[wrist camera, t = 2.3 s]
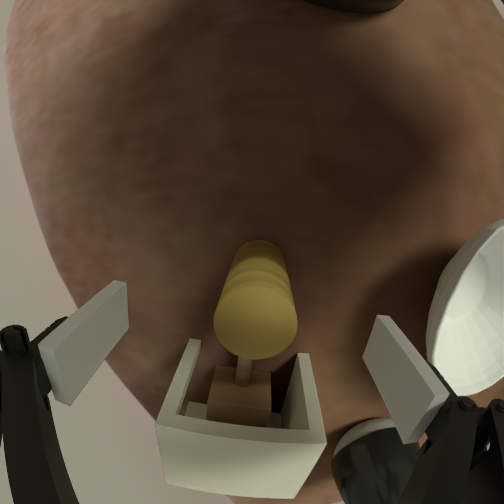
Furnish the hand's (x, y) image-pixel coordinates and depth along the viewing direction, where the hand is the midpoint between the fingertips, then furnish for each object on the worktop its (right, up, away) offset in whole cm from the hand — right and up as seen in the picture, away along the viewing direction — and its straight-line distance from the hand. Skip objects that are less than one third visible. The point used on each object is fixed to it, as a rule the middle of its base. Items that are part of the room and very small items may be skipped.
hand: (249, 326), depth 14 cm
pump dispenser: (+14, -18, +14) cm, 27 cm away
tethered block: (0, -4, +10) cm, 10 cm away
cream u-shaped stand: (-1, -9, +11) cm, 14 cm away
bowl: (+21, 0, +8) cm, 22 cm away
